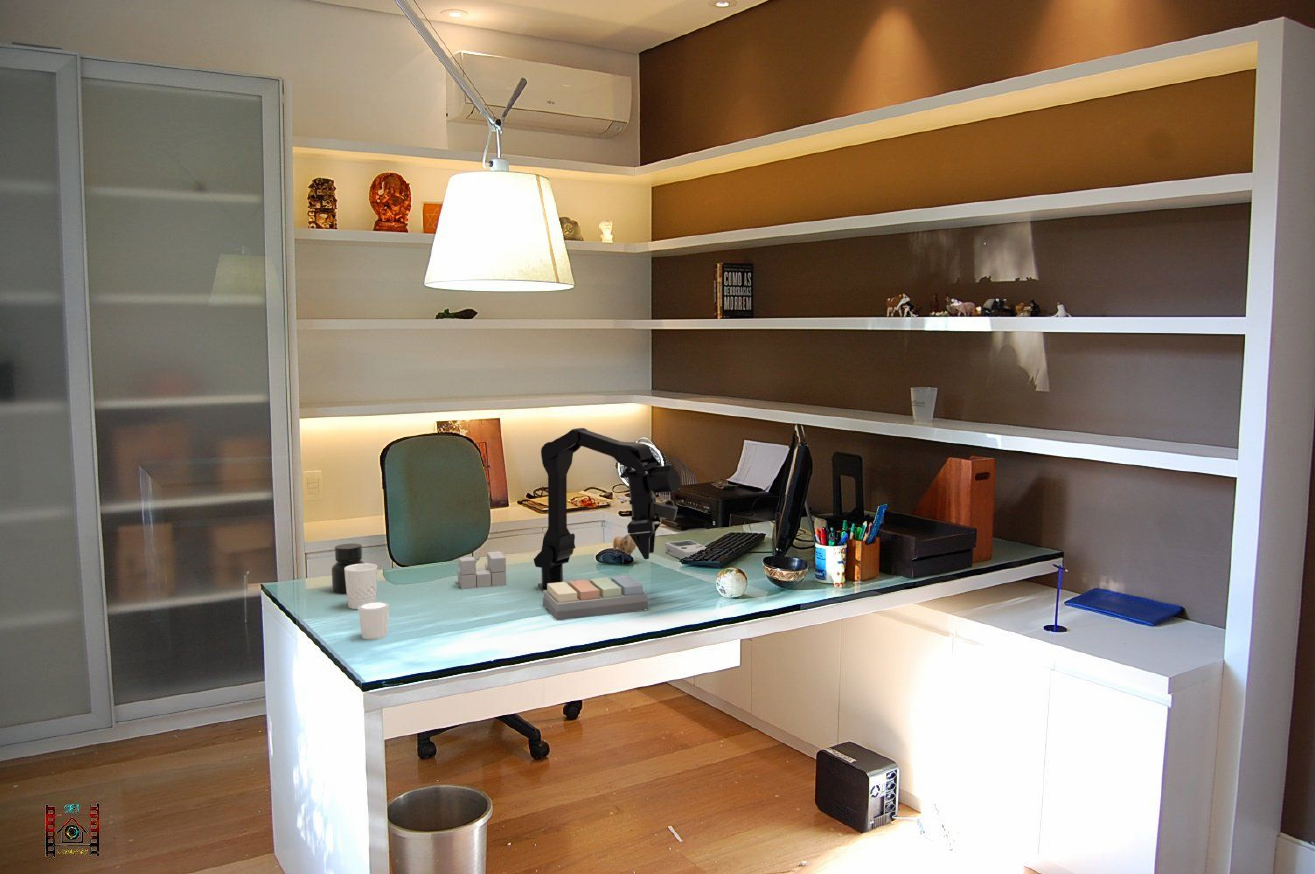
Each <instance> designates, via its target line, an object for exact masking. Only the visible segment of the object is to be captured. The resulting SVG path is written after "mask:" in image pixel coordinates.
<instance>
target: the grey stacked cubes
mask: <svg viewBox="0 0 1315 874" xmlns="http://www.w3.org/2000/svg"><path fill="white" fill-rule="evenodd" d="M458 558H459V559H458V560H459V561H458V562H459V563H458V565H459V568H458V569H457V583H458V585H459V586H460V589H461V590H467V589H468V590H469V589H470V590H471V589H481V588H489V587H491V588H493V587H503V586H502V585H505V586H507V564H506V563H507V560H506V559H507V558H506V556H505V555H504V554H503V552H502V551H490V552H489V551H488V552H486V563H484V565H485V566H484V569H483V570H476V569H477V565H476V564H477V563H476V562H477V561H476V559H475V557H474V556H467V557H458Z"/></svg>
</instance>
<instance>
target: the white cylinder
mask: <svg viewBox="0 0 1315 874" xmlns="http://www.w3.org/2000/svg"><path fill="white" fill-rule="evenodd" d="M357 610H358V618H359V624H360V625H359V626H360V632H361V637H362V638H363V639H365V640H378V639H379V640H380V639H382V638H385V637H387V636H388V632H389V631H388V630H389V613H390V603H389V602H386V601H376V602H369V603H364V604H361V605H360V606H358V609H357Z"/></svg>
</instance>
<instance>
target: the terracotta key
mask: <svg viewBox="0 0 1315 874" xmlns="http://www.w3.org/2000/svg"><path fill="white" fill-rule="evenodd" d="M568 585H569V586H570V587H571V588H573V589H574V590H575V591H576V592H577V598H578V599H579V600H580V601H582V600H592V599H599V590H598V589H597V588H596V587H595V586H594V585H592V584H591V583H590V580H589V581H588V579H579V580H578V579H577V580H570V581H568Z"/></svg>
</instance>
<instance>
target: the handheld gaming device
mask: <svg viewBox="0 0 1315 874" xmlns="http://www.w3.org/2000/svg"><path fill="white" fill-rule="evenodd" d="M664 547H665V548H664V551H665V553H666V552H667V553H666V554H668V555H670V556H673V557H675V558H676V557H678V558H680V559H679V560H681V559H682V558H685V557H689V556H690V555H693V554H695V553H697V552H698V551H700V550H705V549H706V548H707V546H705V545H702V544H701V543H698V542H697V541H693V540H691V539H686V540H685V539H684V540H678V541H677V540H676V541H668V542H664ZM678 558H677V559H678Z"/></svg>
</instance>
